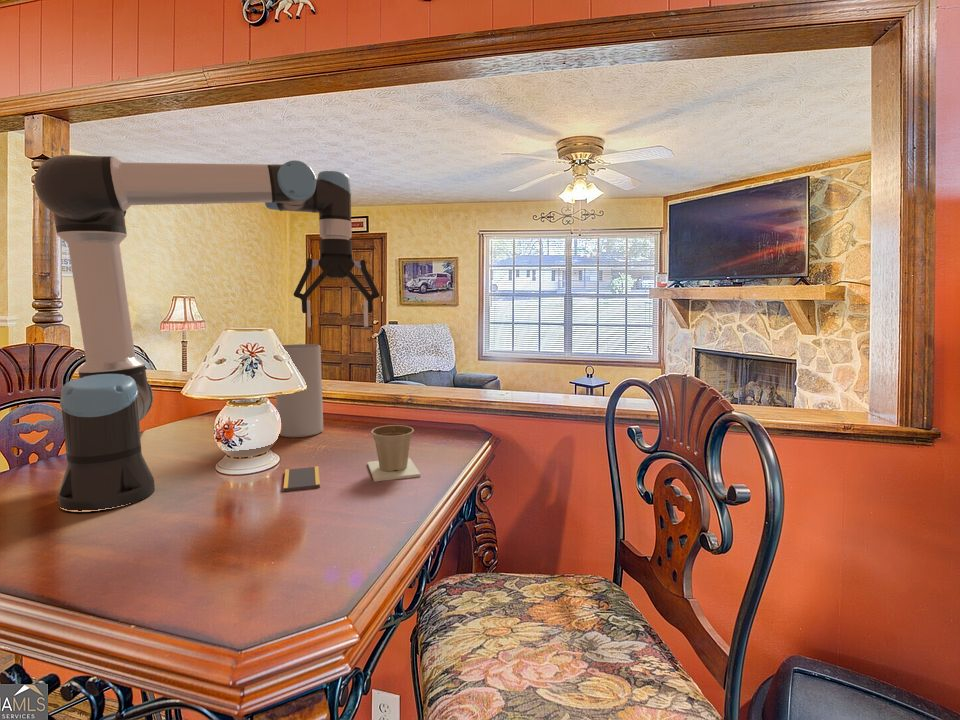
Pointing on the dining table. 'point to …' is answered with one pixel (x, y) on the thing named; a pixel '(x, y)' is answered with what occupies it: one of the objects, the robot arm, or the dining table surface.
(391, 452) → the flower pot
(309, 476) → the trap mat
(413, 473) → the pad
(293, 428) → the cylinder vase
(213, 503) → the dining table surface
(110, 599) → the dining table surface
